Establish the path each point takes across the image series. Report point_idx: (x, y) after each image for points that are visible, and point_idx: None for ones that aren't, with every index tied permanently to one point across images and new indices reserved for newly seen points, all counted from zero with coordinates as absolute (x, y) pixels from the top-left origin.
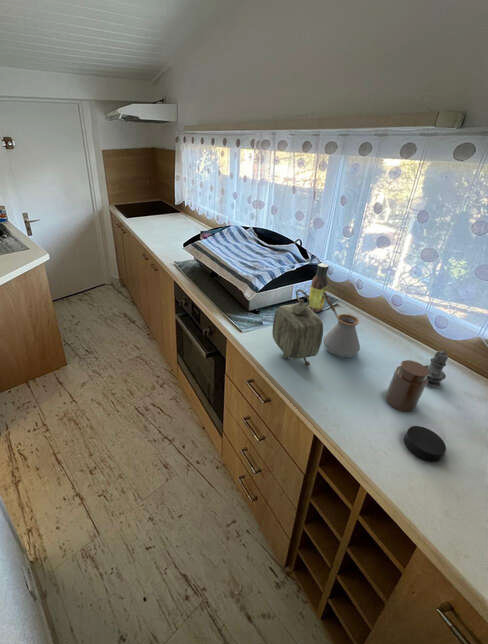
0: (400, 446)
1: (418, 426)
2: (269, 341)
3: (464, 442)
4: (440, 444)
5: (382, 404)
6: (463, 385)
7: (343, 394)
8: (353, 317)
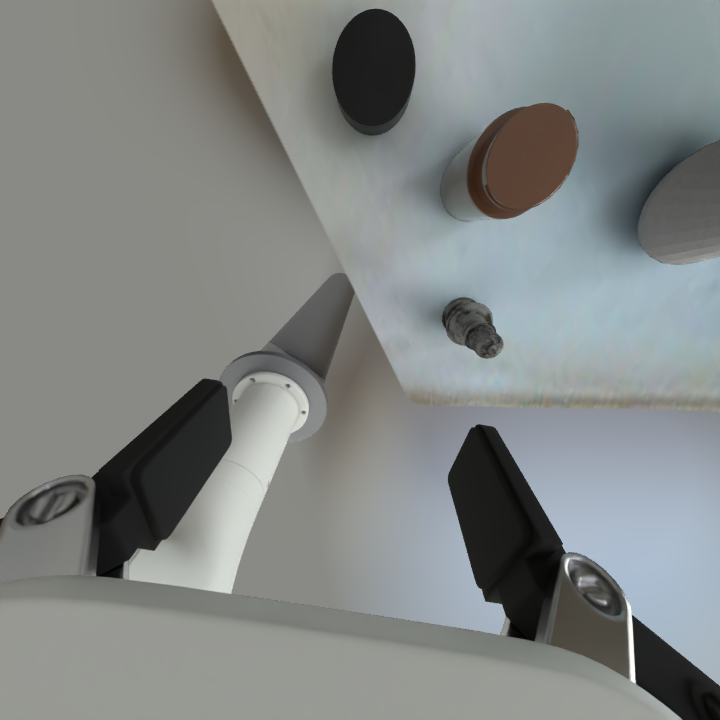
0: None
1: (405, 98)
2: None
3: (343, 210)
4: (350, 96)
5: None
6: (418, 361)
7: (594, 20)
8: None
